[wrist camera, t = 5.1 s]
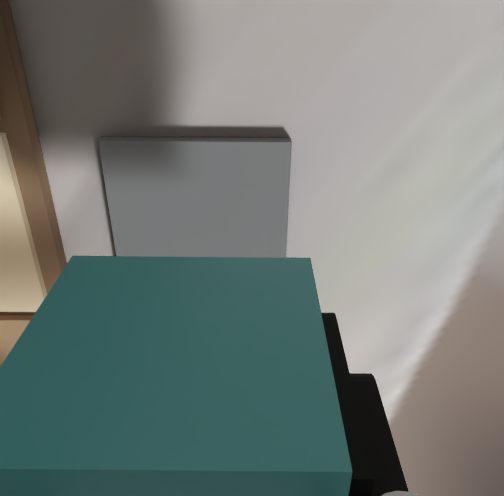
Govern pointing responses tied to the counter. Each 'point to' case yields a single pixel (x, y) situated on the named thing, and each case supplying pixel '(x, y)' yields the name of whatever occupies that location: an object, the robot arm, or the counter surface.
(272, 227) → the mat
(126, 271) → the cube
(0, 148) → the board
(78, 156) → the counter surface
